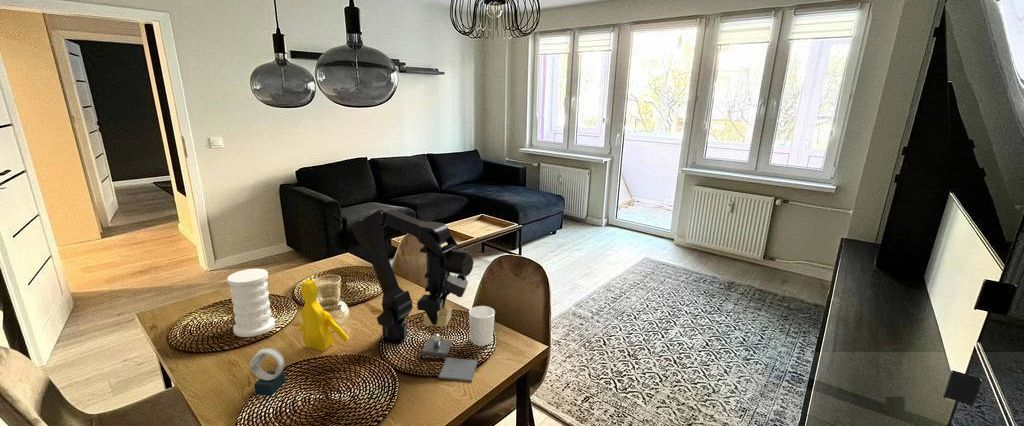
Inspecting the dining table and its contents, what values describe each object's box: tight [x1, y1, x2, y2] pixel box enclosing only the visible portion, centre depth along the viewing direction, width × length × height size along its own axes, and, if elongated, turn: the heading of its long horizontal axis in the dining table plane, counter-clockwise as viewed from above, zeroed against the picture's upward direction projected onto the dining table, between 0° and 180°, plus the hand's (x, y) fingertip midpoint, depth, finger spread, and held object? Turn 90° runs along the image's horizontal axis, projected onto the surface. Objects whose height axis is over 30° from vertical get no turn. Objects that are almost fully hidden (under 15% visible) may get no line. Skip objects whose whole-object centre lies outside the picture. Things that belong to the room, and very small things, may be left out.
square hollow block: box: [423, 305, 452, 328], centre depth 126 cm, size 6×6×3 cm
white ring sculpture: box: [248, 347, 286, 397], centre depth 110 cm, size 6×8×11 cm
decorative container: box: [226, 268, 276, 338], centre depth 137 cm, size 12×12×18 cm
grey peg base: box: [421, 332, 452, 359], centre depth 129 cm, size 7×7×6 cm
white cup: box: [468, 305, 496, 347], centre depth 135 cm, size 8×8×10 cm
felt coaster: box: [438, 357, 479, 383], centre depth 121 cm, size 9×9×1 cm
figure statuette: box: [298, 278, 350, 352], centre depth 127 cm, size 18×8×22 cm, turn 73°
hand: (437, 318), depth 126 cm, fingers closed on square hollow block, 6 cm apart
